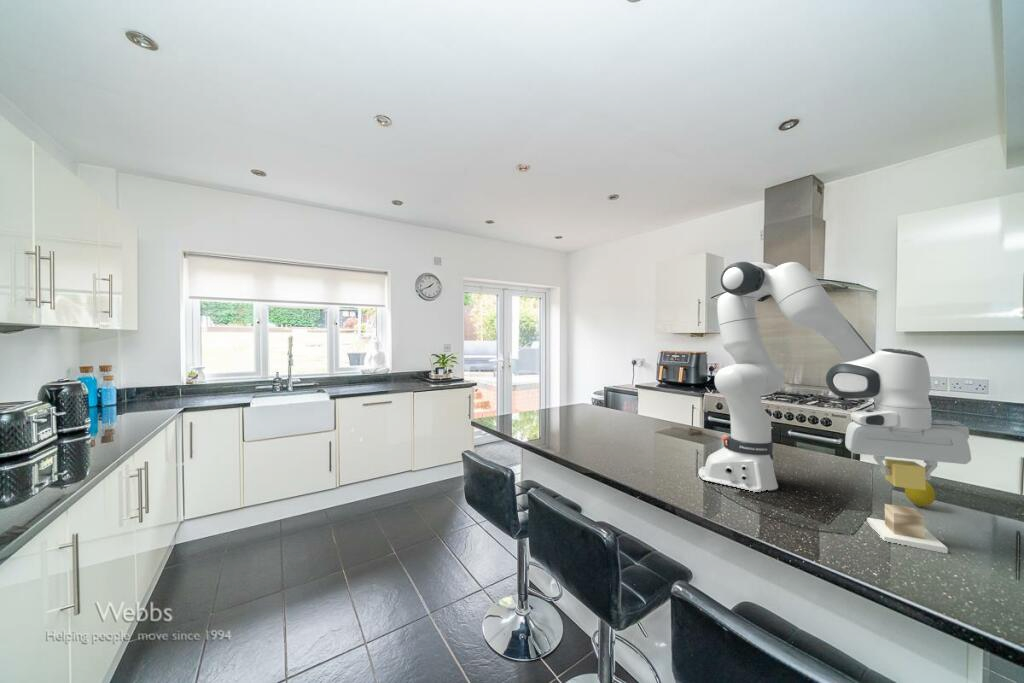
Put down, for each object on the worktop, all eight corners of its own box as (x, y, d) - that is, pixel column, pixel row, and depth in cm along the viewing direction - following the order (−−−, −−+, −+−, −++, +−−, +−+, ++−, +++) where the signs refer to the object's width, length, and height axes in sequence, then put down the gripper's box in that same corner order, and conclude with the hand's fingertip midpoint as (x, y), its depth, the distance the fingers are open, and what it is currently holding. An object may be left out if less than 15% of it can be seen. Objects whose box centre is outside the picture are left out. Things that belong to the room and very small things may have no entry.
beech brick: (894, 533, 84) (893, 512, 84) (884, 524, 88) (884, 503, 88) (924, 539, 81) (924, 517, 81) (913, 529, 86) (913, 508, 85)
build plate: (884, 541, 82) (884, 536, 82) (867, 522, 91) (866, 517, 91) (947, 553, 78) (947, 547, 78) (922, 531, 87) (922, 526, 87)
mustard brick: (895, 486, 83) (894, 464, 83) (885, 479, 88) (884, 458, 88) (925, 490, 81) (925, 468, 81) (914, 482, 85) (913, 461, 85)
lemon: (941, 512, 96) (941, 482, 96) (916, 510, 97) (916, 481, 97) (922, 503, 101) (922, 474, 101) (899, 501, 102) (898, 473, 102)
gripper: (959, 418, 82) (961, 479, 82) (842, 412, 92) (843, 466, 92) (977, 424, 77) (979, 489, 77) (851, 416, 86) (852, 474, 86)
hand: (904, 476), depth 84 cm, fingers closed on mustard brick, 5 cm apart
